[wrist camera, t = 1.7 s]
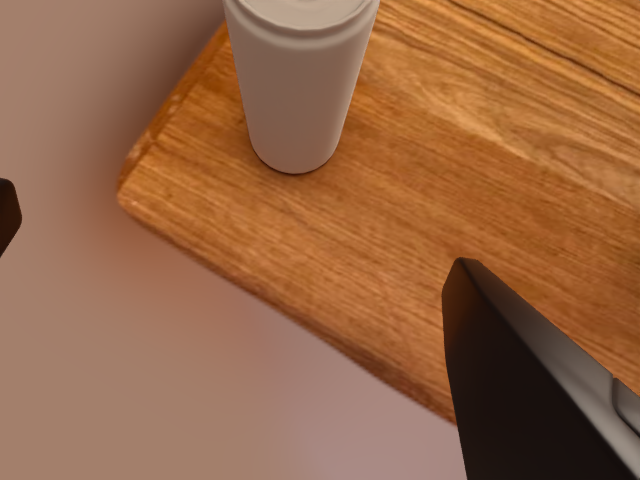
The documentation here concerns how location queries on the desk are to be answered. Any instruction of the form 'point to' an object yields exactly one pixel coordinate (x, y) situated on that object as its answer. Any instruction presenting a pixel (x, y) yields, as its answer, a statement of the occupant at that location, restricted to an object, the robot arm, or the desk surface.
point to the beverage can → (297, 73)
